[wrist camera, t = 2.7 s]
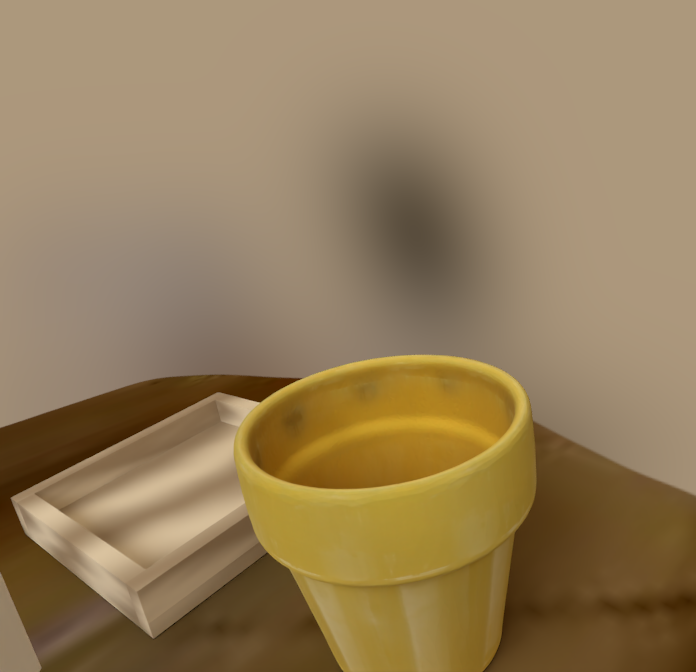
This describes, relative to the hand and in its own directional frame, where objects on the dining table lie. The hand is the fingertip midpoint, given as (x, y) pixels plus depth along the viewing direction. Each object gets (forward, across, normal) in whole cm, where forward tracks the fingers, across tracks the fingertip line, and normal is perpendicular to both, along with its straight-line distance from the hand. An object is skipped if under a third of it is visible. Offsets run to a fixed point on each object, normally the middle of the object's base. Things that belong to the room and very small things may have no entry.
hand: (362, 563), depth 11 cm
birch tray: (+23, -13, -12) cm, 29 cm away
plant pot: (+11, 0, -12) cm, 16 cm away
